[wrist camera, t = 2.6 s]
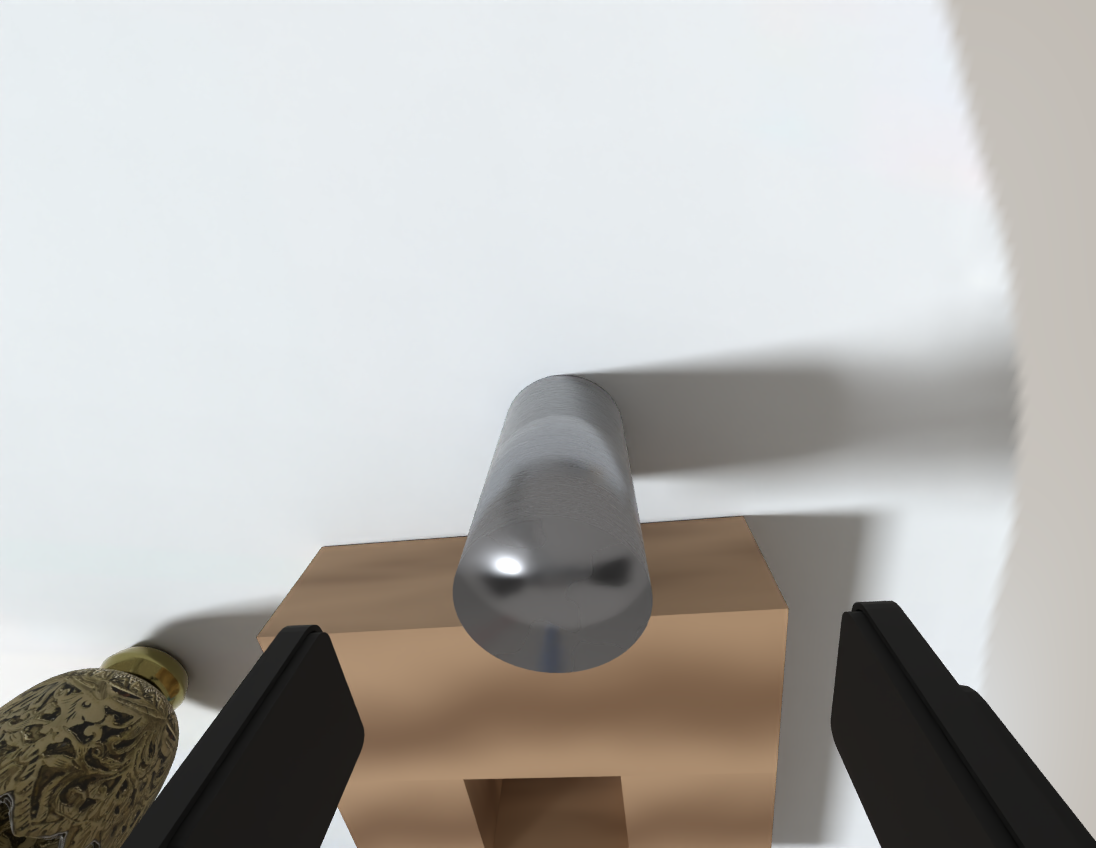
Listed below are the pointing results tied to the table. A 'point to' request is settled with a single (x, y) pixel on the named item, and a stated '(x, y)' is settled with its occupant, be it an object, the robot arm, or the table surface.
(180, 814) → the robot arm
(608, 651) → the steel peg
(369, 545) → the walnut block
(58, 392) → the table surface
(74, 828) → the cup
